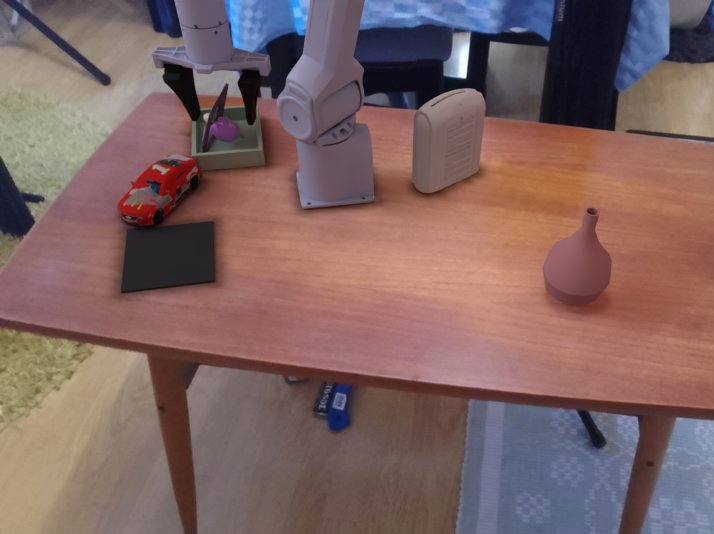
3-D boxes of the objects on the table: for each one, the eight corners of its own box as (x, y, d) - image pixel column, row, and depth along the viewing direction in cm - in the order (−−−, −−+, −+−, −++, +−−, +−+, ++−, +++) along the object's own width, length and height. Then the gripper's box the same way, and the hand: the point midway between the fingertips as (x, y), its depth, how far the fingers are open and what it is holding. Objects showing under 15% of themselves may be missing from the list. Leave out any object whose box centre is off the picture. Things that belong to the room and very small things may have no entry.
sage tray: (260, 118, 101) (257, 104, 100) (265, 165, 94) (262, 150, 92) (195, 123, 100) (191, 108, 98) (195, 171, 92) (191, 155, 90)
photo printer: (462, 158, 97) (469, 75, 88) (483, 172, 95) (492, 89, 86) (407, 183, 93) (408, 99, 83) (427, 199, 91) (430, 114, 81)
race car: (149, 235, 82) (140, 208, 79) (111, 224, 83) (101, 197, 80) (211, 178, 91) (205, 151, 88) (176, 168, 92) (168, 142, 89)
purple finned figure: (220, 80, 94) (202, 114, 88) (258, 94, 96) (242, 128, 90) (213, 120, 99) (196, 155, 93) (249, 133, 100) (234, 168, 94)
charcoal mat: (213, 222, 85) (212, 220, 85) (214, 281, 78) (214, 280, 78) (127, 230, 83) (127, 229, 83) (121, 292, 76) (120, 291, 76)
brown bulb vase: (533, 271, 82) (550, 189, 73) (595, 271, 83) (619, 189, 74) (544, 318, 77) (563, 235, 68) (610, 317, 78) (637, 235, 69)
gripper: (132, 28, 81) (162, 131, 91) (255, 37, 81) (270, 138, 91) (152, 4, 86) (178, 104, 96) (268, 13, 86) (281, 111, 96)
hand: (224, 119), depth 94 cm, fingers open, 7 cm apart
